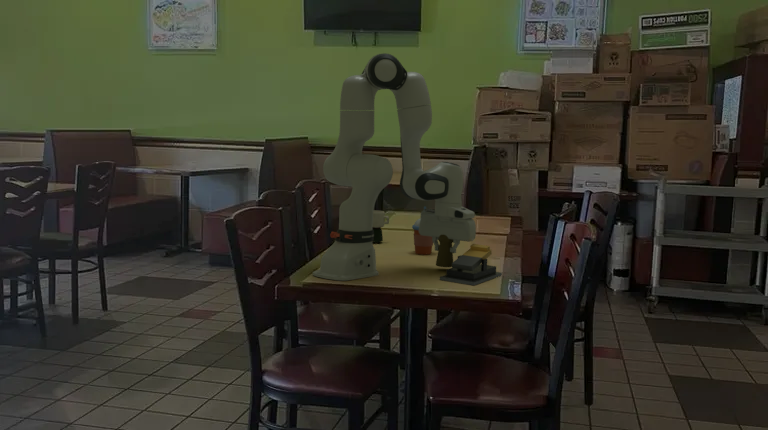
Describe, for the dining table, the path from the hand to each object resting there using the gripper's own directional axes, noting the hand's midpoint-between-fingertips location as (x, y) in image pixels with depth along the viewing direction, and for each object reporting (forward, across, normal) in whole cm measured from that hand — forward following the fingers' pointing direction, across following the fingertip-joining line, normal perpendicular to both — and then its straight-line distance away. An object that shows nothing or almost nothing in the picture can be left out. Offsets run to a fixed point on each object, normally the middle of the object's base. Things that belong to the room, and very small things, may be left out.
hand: (445, 251), depth 237 cm
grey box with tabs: (+6, +13, -4) cm, 15 cm away
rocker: (+1, +13, -5) cm, 13 cm away
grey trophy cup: (+6, -50, +32) cm, 60 cm away
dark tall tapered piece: (+5, 0, 0) cm, 5 cm away
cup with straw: (+6, -22, +24) cm, 33 cm away
